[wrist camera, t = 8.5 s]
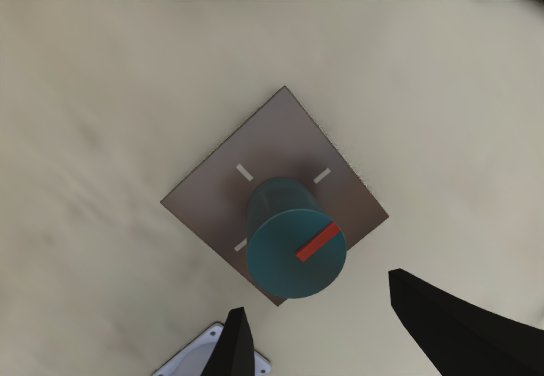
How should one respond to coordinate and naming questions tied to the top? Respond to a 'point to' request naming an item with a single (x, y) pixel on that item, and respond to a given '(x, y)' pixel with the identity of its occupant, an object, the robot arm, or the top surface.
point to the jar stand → (262, 167)
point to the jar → (292, 240)
